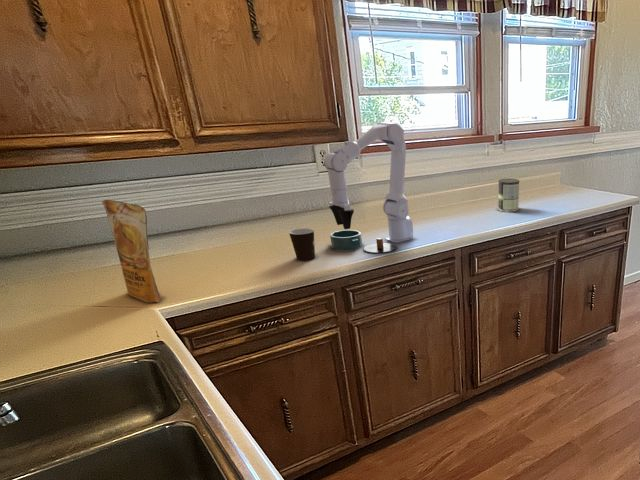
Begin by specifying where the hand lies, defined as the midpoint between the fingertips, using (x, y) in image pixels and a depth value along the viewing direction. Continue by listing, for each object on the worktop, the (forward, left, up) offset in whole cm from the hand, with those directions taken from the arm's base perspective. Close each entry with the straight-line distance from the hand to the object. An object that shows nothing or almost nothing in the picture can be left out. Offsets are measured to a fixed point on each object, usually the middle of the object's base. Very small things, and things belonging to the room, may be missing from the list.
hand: (343, 226), depth 193 cm
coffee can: (-96, -14, -10) cm, 98 cm away
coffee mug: (+14, -4, -10) cm, 18 cm away
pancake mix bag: (+68, +2, -10) cm, 69 cm away
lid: (-11, +6, -9) cm, 16 cm away
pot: (-3, -6, -10) cm, 12 cm away
